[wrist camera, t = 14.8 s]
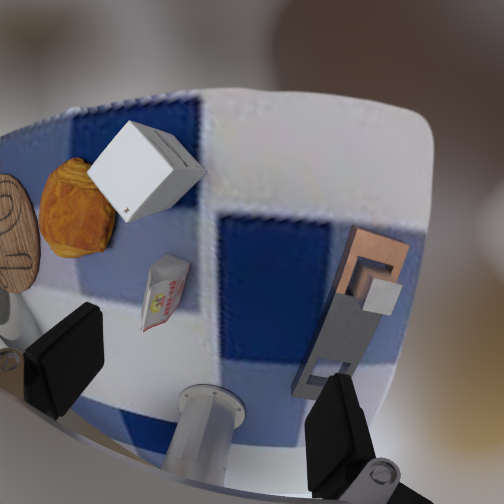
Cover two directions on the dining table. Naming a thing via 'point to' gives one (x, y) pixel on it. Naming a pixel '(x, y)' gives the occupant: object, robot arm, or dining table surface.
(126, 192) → the supplement box
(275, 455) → the dining table surface
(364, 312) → the rail
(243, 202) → the dining table surface
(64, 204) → the croissant
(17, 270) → the trivet
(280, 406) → the dining table surface
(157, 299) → the white printed paper bag
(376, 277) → the steel peg
